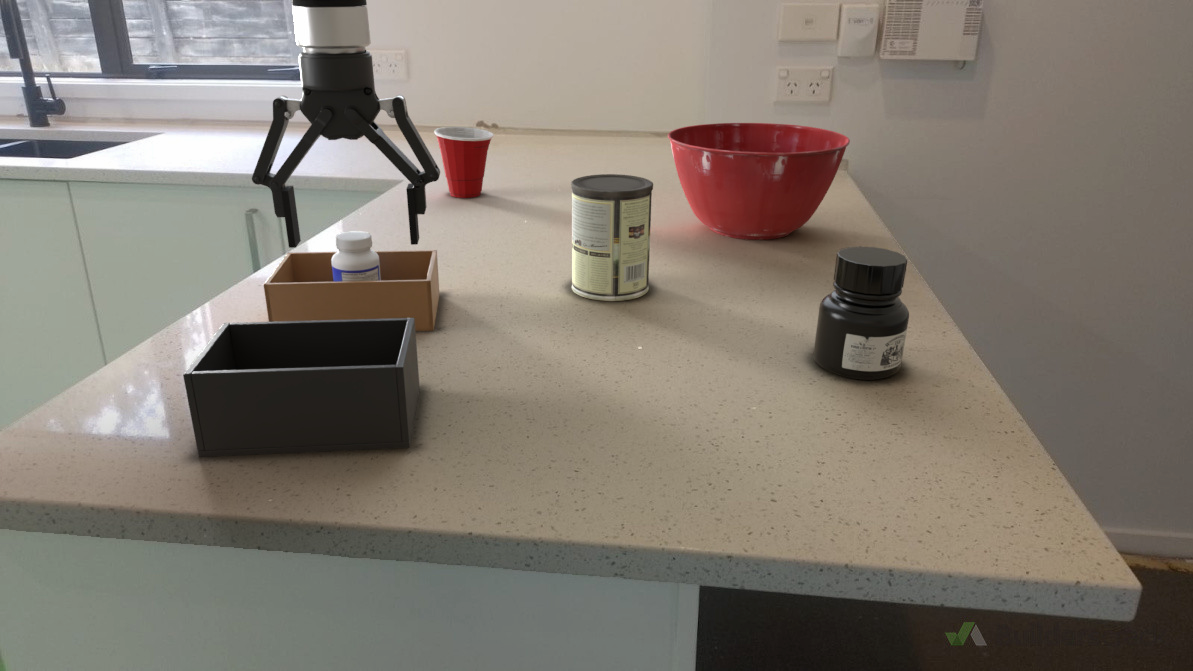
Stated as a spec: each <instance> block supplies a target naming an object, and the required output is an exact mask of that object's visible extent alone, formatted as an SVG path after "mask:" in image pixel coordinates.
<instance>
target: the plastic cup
mask: <svg viewBox="0 0 1193 671" xmlns="http://www.w3.org/2000/svg"><path fill="white" fill-rule="evenodd" d="M433 133H434V135H435V136H436V139H437V143H438V147H439V150H440V156H441V160H442V166H443V171H444V175H445V178H446V183H447V186H448V188H447V189H448V192H449V195H450V196H451V197H453V198H459V199H470V198H477V197H479V196H482V195H481V194H482V190H483V183H484V177H485V172H486V165H487V157H488V151H489V149H490V148H489V147H490V144H491V141H492V139H493V138H494V136H495V135H494V133H493V132H492V131H489V130H485V129H481V128H477V127H466V126H443V127H437V128H435V129H434V130H433Z"/></svg>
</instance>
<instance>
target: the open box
mask: <svg viewBox="0 0 1193 671" xmlns="http://www.w3.org/2000/svg"><path fill="white" fill-rule="evenodd" d="M416 332H417V331H415V318H388V319H350V320H312V321H275V322H269V321H246V322H245V321H244V322H243V321H241V322H239V321H238V322H223V323H222V325H221V326H220V327H219V329H218V330H217V331H216V332H215V333H214V335H213V336H212V338H210V340H209V341H208V342H207V343H206V345H205V346H204V347H203V348H202V349H201V351H200V352H199V354H198V355H197V356H196V358H195V359H194V360H193V361H192V363H191V364H190V365H189V366H188V368H186V370H185V371H184V373H183V374H182V376H183V382H184V387H185V393H186V395H187V396H186V397H187V402H188V408H189V413H190V418H191V423H192V429H193V434H194V440H195V445H196V450H197V456H198V458H206V457H207V458H208V457H230V456H231V457H234V456H251V455H253V456H254V455H255V456H256V455H276V454H277V455H278V454H299V453H320V452H321V453H322V452H339V451H340V452H344V451H345V452H346V451H347V452H348V451H365V450H366V451H368V450H391V449H408V448H410V447H411V441H412V437H413V431H414V425H415V418H416V412H417V408H418V402H419V396H420V391H421V388H420V376H419V375H420V374H419V361H418V348H417V347H418V346H417V334H416Z"/></svg>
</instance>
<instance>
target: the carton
mask: <svg viewBox="0 0 1193 671" xmlns="http://www.w3.org/2000/svg"><path fill="white" fill-rule="evenodd" d="M374 251H375V252H376V253H377V254H378V256H379V263H380V277H381V281H339V282H334V281H333V271H332V257H333V255H334V254H335V253H336V252H337V251H302V252H301V251H300V252H299V251H298V252H287V253H286V254H285V256H284V257H283V258H282V260H281V261H280V262H279V264H278V265H277V266H276V267H275V269H274V270H273V271H272V273H271V274H270V275H269V277H268V278H267V279H266V281H265V282H264V283H263V290H264V299H265V306H266V313H267V319H268V320H267V321H268V322H275V321H312V320H350V319H388V318H415V331H416V332H423V331H424V332H425V331H427V332H429V331H435V325H436V320H437V313H438V307H439V300H440V280H439V279H440V278H439V277H440V276H439V262H438V250H437V249H417V250H416V249H413V250H374Z"/></svg>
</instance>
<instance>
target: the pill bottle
mask: <svg viewBox="0 0 1193 671" xmlns="http://www.w3.org/2000/svg"><path fill="white" fill-rule="evenodd" d="M335 247H336V249H337V251H335V252H336V253H335V254H334V255H333V257H332V271H333V281H334V282H339V281H381V277H380V263H379V256H378V254H377V253H376V252H375V251H376V250H373V249H371V248H372V247H373V237H372V234H371V233H370V232H367V231H363V230H350V231H343V232H340V233H338V234H336V236H335Z"/></svg>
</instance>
